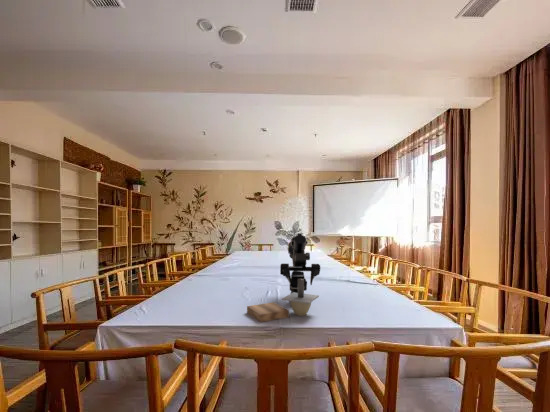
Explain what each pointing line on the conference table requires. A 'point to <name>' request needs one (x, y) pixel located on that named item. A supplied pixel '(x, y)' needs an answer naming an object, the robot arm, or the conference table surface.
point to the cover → (300, 294)
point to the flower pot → (300, 308)
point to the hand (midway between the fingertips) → (301, 284)
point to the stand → (267, 312)
